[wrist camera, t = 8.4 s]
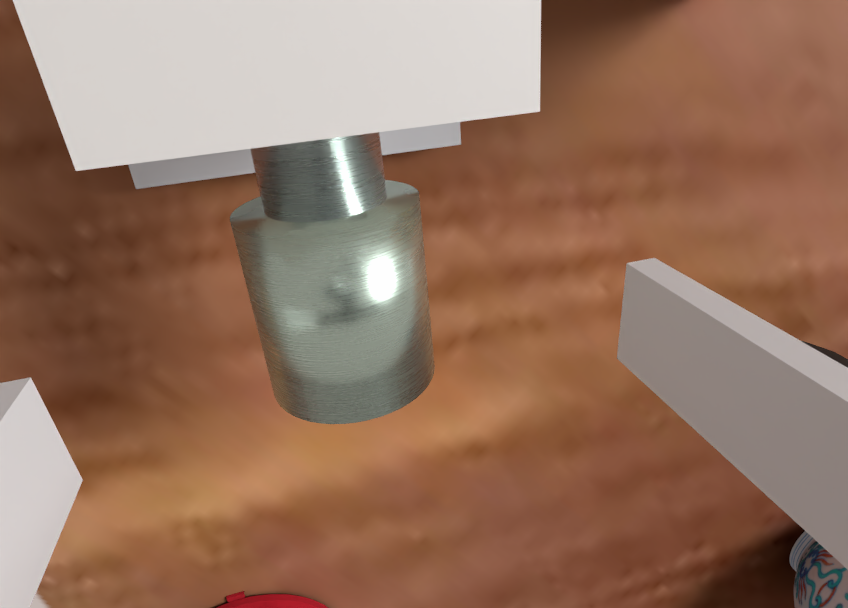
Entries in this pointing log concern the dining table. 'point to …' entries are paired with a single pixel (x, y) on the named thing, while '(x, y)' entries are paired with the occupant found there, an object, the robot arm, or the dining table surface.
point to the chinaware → (817, 576)
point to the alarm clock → (270, 601)
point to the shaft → (336, 279)
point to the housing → (274, 76)
